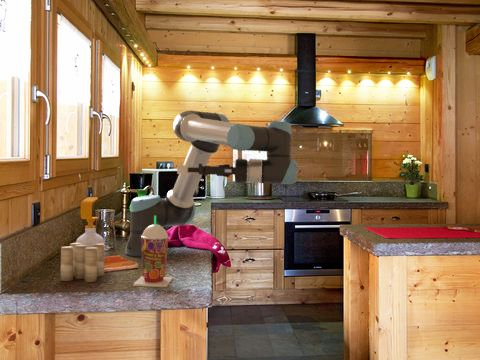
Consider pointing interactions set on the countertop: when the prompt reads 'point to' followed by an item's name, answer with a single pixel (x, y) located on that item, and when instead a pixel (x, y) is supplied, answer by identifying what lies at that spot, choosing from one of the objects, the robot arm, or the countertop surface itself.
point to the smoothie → (154, 252)
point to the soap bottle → (89, 224)
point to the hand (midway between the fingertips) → (181, 169)
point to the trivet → (155, 284)
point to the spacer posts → (82, 262)
